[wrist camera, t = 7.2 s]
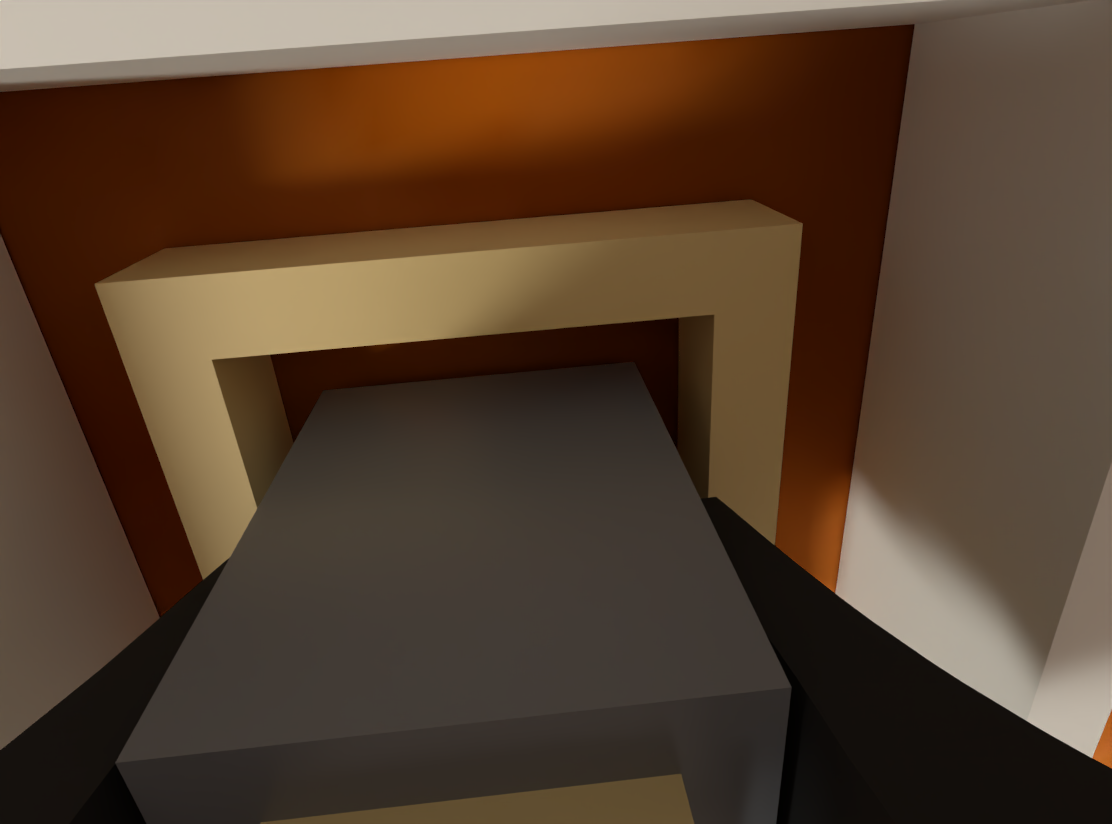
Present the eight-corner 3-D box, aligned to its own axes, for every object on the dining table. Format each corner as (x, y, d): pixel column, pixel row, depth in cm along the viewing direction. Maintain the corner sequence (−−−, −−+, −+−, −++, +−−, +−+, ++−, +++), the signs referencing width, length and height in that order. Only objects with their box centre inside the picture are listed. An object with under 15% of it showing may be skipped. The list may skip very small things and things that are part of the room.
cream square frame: (1008, -76, 8) (1483, -222, 4) (862, 727, 14) (1003, 978, 10) (-189, 6, 8) (-916, -72, 4) (185, 805, 14) (58, 1101, 10)
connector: (634, 361, 10) (814, 738, 4) (639, 601, 12) (768, 1077, 6) (323, 390, 10) (81, 822, 4) (379, 628, 12) (268, 1144, 6)
